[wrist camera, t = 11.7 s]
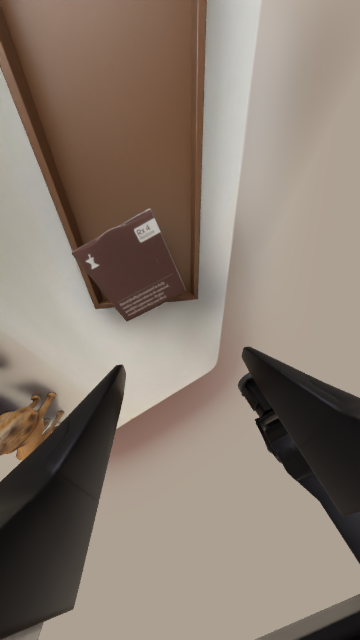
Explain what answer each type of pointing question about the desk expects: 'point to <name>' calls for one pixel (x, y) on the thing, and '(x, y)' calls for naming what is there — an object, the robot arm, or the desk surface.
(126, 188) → the tray
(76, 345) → the desk surface
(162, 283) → the box
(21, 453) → the lion figurine
